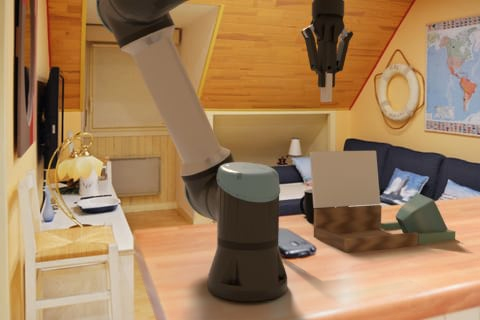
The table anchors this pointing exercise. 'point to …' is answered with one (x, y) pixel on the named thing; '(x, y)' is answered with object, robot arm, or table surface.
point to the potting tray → (425, 234)
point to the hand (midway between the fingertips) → (326, 101)
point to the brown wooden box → (356, 229)
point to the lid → (344, 178)
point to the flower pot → (420, 216)
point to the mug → (308, 205)
